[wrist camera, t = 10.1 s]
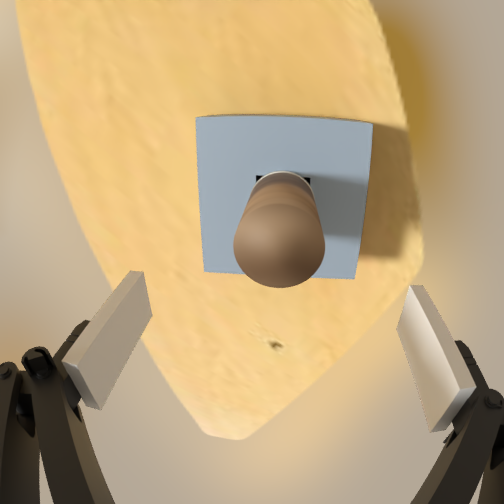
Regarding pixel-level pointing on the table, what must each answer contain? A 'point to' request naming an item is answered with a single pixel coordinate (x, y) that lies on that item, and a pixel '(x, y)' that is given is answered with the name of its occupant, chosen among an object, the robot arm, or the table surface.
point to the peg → (280, 232)
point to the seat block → (283, 159)
